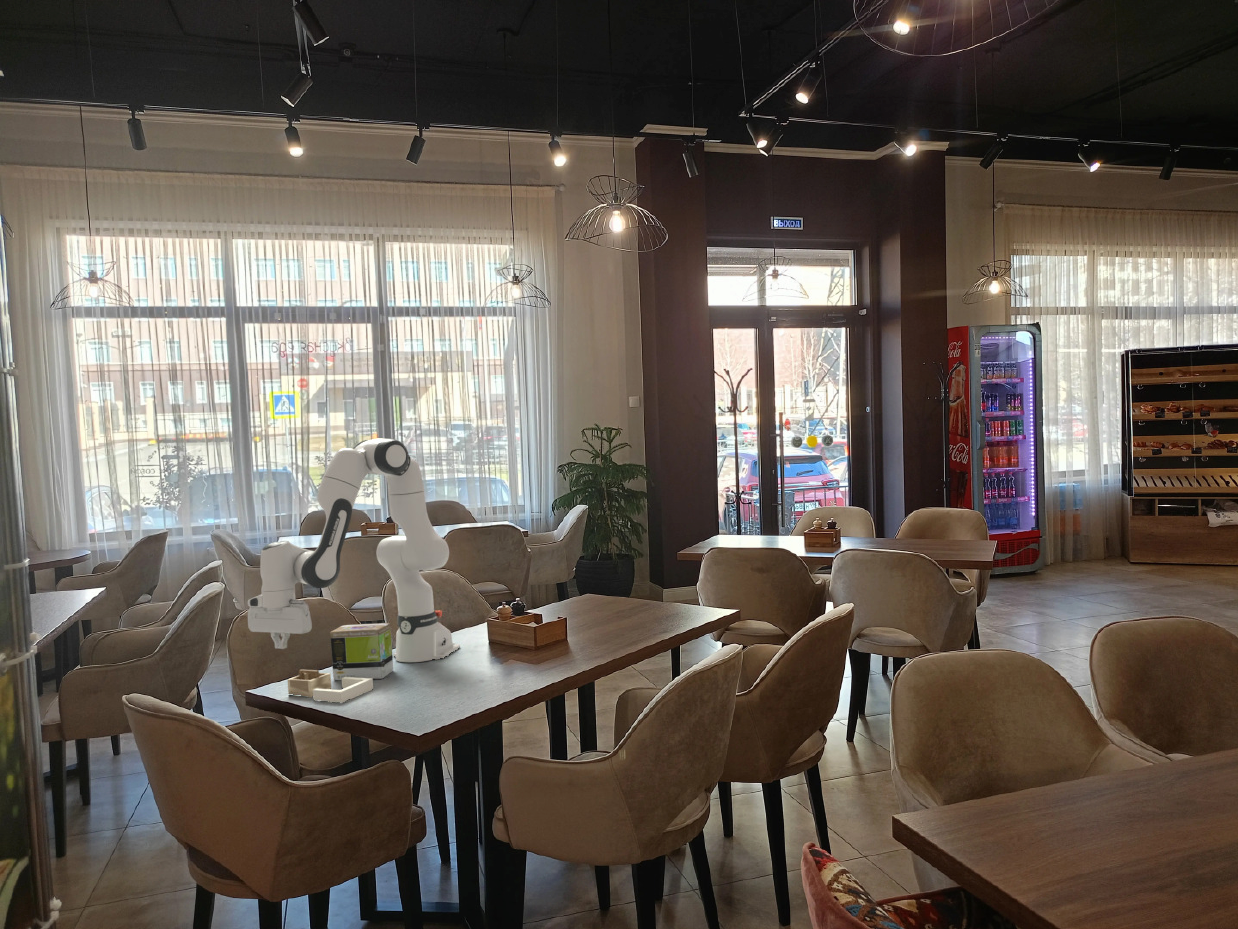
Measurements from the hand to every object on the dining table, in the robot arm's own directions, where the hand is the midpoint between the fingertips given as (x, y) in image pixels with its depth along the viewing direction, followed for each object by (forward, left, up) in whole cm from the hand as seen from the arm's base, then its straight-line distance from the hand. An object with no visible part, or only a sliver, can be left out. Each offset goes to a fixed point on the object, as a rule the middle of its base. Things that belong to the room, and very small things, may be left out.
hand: (281, 648), depth 244 cm
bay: (0, +20, -12) cm, 23 cm away
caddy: (0, +9, -12) cm, 15 cm away
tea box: (-18, +13, -13) cm, 26 cm away
